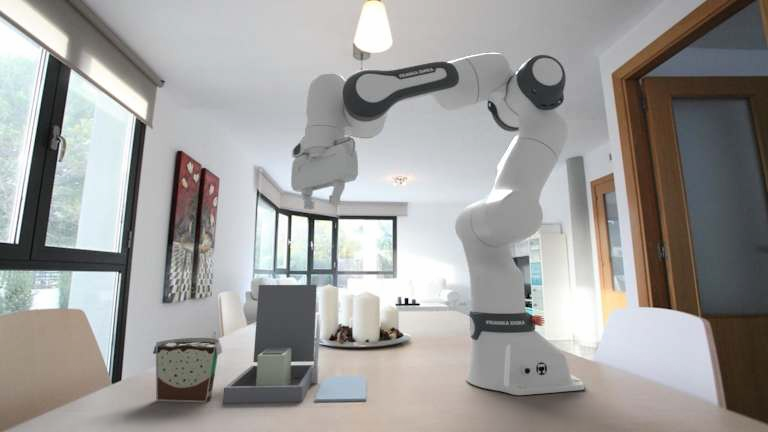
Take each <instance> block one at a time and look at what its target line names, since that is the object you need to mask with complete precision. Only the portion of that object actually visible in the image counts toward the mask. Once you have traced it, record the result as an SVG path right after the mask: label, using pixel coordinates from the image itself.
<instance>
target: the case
mask: <svg viewBox="0 0 768 432" xmlns="http://www.w3.org/2000/svg"><path fill="white" fill-rule="evenodd" d="M321 326H322V314H318V315H317V320H316V330H315V347H314V362H313V364H291V378H290V379H301V381H300V383H299V384H298V385H297V384H296V385H295V384H294V385H293V384H292V385H289V386H256V385H249V384H250V383H251V382H252V381H254V380H255V379H256V380H257V365H251V366H249V367H248V368H247V369H246V370H244V371H243V372H242V373H241V374H239V375H238V376H237V377H235V379H233V380H232V381H230V383H228V384H227V385H226V386H224V387H223V394H222V395H223V396H222V398H223V399H222V404H235V403H236V404H239V403H240V404H241V403H242V404H243V403H244V404H245V403H246V404H249V403H252V404H253V403H295V402H296V403H297V402H299V403H302V402H303V401H304V398H305V397H306V395H307V393H308V391H309V388H310V386H311V384H318V382H319V365H318V364H319V363H318V362H319V351H320V349H319V348H320V340H321V339H320V337H321Z"/></svg>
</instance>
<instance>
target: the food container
mask: <svg viewBox="0 0 768 432" xmlns="http://www.w3.org/2000/svg"><path fill="white" fill-rule="evenodd" d="M220 341H221V340H219V339H218V338H214V337H212V338H211V337H184V338H183V337H182V338H172V339H167V340H165V339H164V340H160V341H156V342H155V345H154V348H153V350H152V351H153V352H152V354H153V355H155V378H156V380H155V385H156V386H155V387H156V388H155V391H156V395H155V397H156V398H155V399H156V400H155V402H176V403H177V402H179V403H183V402H184V403H208V402H209V401H211V399H212V393H213V389H214V388H213V387H214V381H215V375H216V369H217V362H218V356H219V355H221V354H222V353H223V350H222V349H223V348H222V344H221V343H220Z"/></svg>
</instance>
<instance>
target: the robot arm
mask: <svg viewBox="0 0 768 432" xmlns="http://www.w3.org/2000/svg"><path fill="white" fill-rule="evenodd" d="M511 67H512V66H511V63H510V62H509V60H508V59H507V57H506V56H505V55H503V54H501V53H498V52H487V53H479V54H474V55H470V56H469V55H468V56H465V57H462V58H458V59H455V60H451V61H435V62H428V63H427V62H426V63H423V64H418V65H413V66H408V67H403V68H398V69H391V70H380V69H361V70H358V71H355V73H353V74H351V75H350V76H349V77H348V78H347V80H346V79H345V78H344V77H343V76H342V75H340V74H338V73H334V72H325V73H321V74H319V75H317V76H316V77H314V78H313V79H312V81H311V82H310V85H309V87H308V91H307V100H306V108H305V113H306V114H305V115H306V118H307V119H306V120H307V122H306V125H305V128H304V135H303V136H302V138H301V139H300V141H299V142H298V144H297V145H296V146H294V147H293V149H292V151H291V157H292V158H293V159H294V160H293V161H292V166H291V177H290V186H291V188H292V191H294V192H297V193H300V195H301V197H302V201H303V209H304V210H306V211H310V210H314V209H315V201H313V198H312V196H313V194H314V191H318V190H322V189H326V188H330V187H332V188H333V189H332V191H331V192H332V193H331V195H329V196H328V197H329V199H328V203H329V205H333V206H336V205H340V204H341V196H342V194H343V193H344V190H345V185H346V183H350V182H353V181H356V180H357V177H358V174H359V164H358V153H357V149H356V140H354V138H353V137H355V138H359V139H371V138H375V137H376V136H377V135H379V134H380V133H381V131H382V130H383V128H384V125H385V123H386V120H387V115H388V112H389V111H390V110H391V109H392V108H393V107H394V106H395V105H396V104H398V103H400V102H405V101H408V100H413V99H418V98H421V97H425V96H432V97H433V99H434V101H435V102H436V103H437V104H438V106H440V107H441V108H443V109H444V110H447V111H451V110H458V109H464V108H468V107H470V106H473V105H476V104H479V103H482V102H485V101H487V103H486V105H487V110H488V111H489V112H490V113H491V117H492V119H493V120H494V122H495V123H496V125H497V126H498V127H500V129H502V130H504V131H507V132H517V133H516V135H515V137H514V138H513V140H512V141H511V143H510V144H509V146H508V148H507V150H506V151H505V153H504V155H503V156H502V158H501V160H500V162H498V165H497V167H496V168H495V181H494V184H493V186H492V189H490V191H489V193H488V194H486V196H485V197H484V198H483V199H480V200H477V201H475V202H473V203H471V204H469V205H468V206H466V207H465V208H464V209H463V210H462V211H461V212H460V213H459V214H458V216H457V217H456V220H455V225H454V229H455V233H456V236H457V238H458V239H459V241H461V243H462V247H463V251H464V254H465V258H466V263H467V266H468V272H469V273H468V274H469V279H470V281H469V282H470V304H471V310H470V311H469V321H468V322H469V323H468V325H469V335H470V339H471V343H470V344H471V346H470V357H469V364H468V368H467V374H466V376H465V377H466V378H465V379H466V381H467V383H469V384H471V385H473V386H476V387H479V388H483V389H488V390H493V391H497V392H498V391H499V392H504V393H506V394H510V395H512V396H513V395H514V396H526V395H535V394H536V395H537V394H538V395H539V394H550V393H551V394H552V393H563V392H573V391H582V390H584V389H585V387H584V382H583V381H582V380H581V379H580V378H578V377H576V376H575V375H573V374H571V371H570V367H569V366H570V365H569V363H568V360H567V358H566V355H565V353H564V352H563V351H562V350H561V349H560V348H558V347H557V346H556V345H555V344H553V343H552V342H551V341H549V340H548V339H547V338H545V336H543V335H541V334H540V333H539V332H538V331H536V326H538V327H541V326H542V327H543V326H544V324H545V318H544V317H543V316H542V315H538V314H534V315H533V314H531V313H529V312H527V311H526V310H527V309H526V295H525V279H524V274H523V272H522V270H521V269H520V268H519V267H518V266H517V265H516V262H515V260H514V258H513V255H512V254H513V253H512V252H511V248H510V245H515V244H518V243H521V242H523V241H525V240H527V239H529V238H530V237H532V236H533V235H535V234H536V233H537V232H538V231H539V229H540V228H541V226H542V224H543V217H544V214H543V213H544V212H543V209H542V206H541V204H540V200H541V199H540V198H541V194H542V192H543V189H544V186H545V185H546V183H547V181H548V179H549V178H550V175H551V173H552V171H553V169H554V168H555V167H556V164H557V162H558V160H559V158H560V156H561V154H562V152H563V149H564V146H565V144H566V140H567V137H568V134H569V125H568V123H567V121H566V119H565V118H564V117H563V116H562V115H560V114H559V113H558V112H557V108H559V107H560V106H561V105H562V104H563V102H564V100H565V97H564V90H565V88H566V87H565V86H566V80H567V79H566V76H567V75H566V72H565V69H564V65H562V63H561V61H559V60H558V59H557V58H555V57H553V56H551V55H547V54H539V55H534V56H533V57H531V58H529V59H528V60H526V61H525V62H524V63H523V64H522V65H520V67H519V68H518V71H517V72H516V71H514V70H513V69H512V68H511Z"/></svg>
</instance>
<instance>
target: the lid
mask: <svg viewBox="0 0 768 432" xmlns="http://www.w3.org/2000/svg"><path fill="white" fill-rule="evenodd" d="M317 287H318V285H317V284H259V285H258V291H257V292H258V293H257V307H256V322H255V334H254V335H255V336H254V349H253V363H257V361H258V355H259V354H260V353H262V352H263V351H265V350H266V349H269V348H281V347H287V348H292V349H291V363H294V362H295V363H297V362H298V363H299V362H300V363H302V362H303V363H304V362H305V363H307V362H309V363H311V362H313V363H314V356H315V344H316V317H317V316H316V313H317V312H316V311H317Z"/></svg>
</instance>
